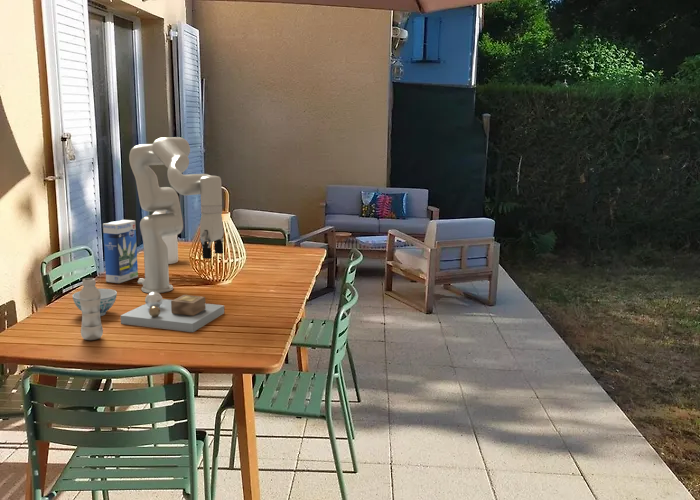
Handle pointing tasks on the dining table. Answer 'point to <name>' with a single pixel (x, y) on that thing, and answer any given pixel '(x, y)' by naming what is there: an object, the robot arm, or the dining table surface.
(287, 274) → the dining table surface
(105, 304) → the chinaware
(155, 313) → the bronze ball
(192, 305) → the walnut cover
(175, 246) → the bottle
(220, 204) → the robot arm
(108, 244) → the string lights box
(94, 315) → the plastic bottle
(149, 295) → the steel boule
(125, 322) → the hole board
